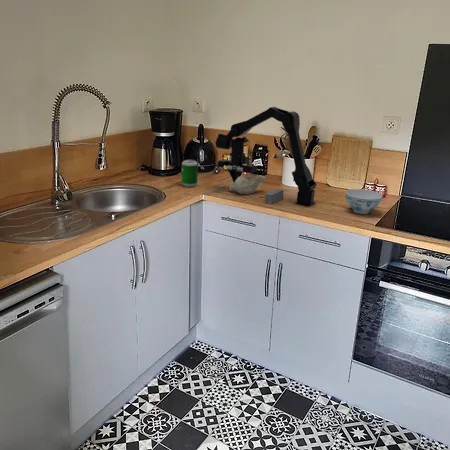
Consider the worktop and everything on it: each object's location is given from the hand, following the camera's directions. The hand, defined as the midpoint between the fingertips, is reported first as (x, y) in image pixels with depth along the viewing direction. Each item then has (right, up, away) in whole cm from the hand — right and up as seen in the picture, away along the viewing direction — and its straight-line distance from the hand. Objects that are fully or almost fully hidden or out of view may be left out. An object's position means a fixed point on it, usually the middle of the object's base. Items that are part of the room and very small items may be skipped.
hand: (235, 183), depth 216 cm
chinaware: (+53, -14, -22) cm, 58 cm away
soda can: (-22, 0, +6) cm, 23 cm away
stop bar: (+17, -9, -12) cm, 22 cm away
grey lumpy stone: (+5, -4, -1) cm, 7 cm away
